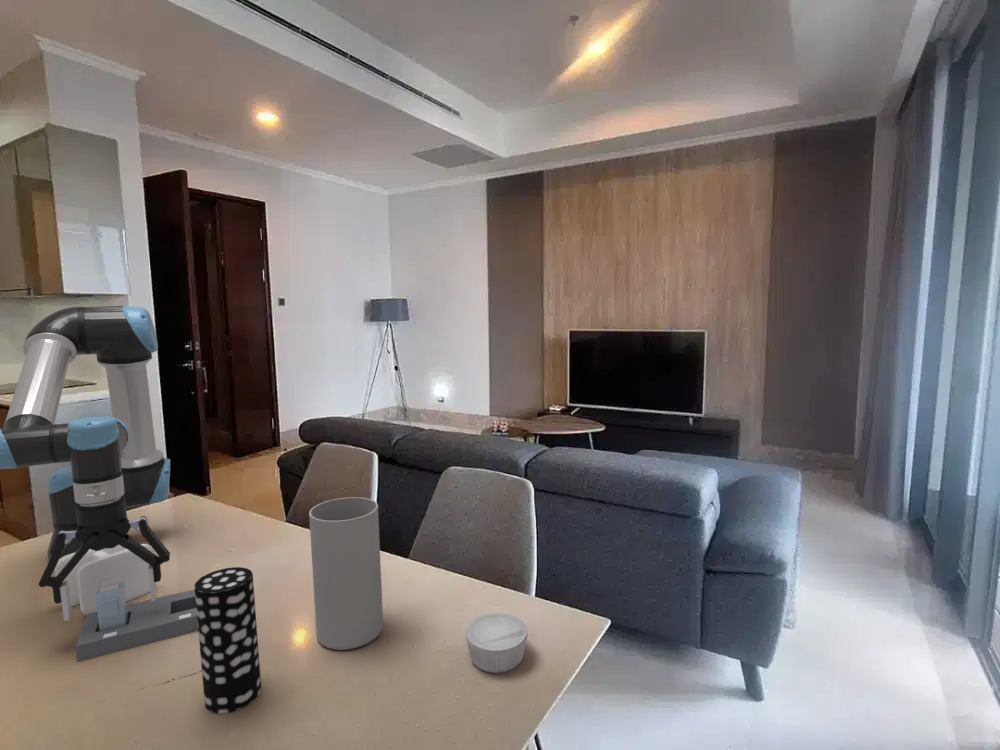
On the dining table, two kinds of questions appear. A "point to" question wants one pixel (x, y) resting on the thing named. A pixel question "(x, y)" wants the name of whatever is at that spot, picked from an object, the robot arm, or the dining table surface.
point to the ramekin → (496, 642)
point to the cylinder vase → (346, 572)
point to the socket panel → (140, 625)
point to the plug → (111, 605)
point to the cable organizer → (105, 575)
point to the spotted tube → (228, 639)
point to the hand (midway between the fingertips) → (112, 607)
